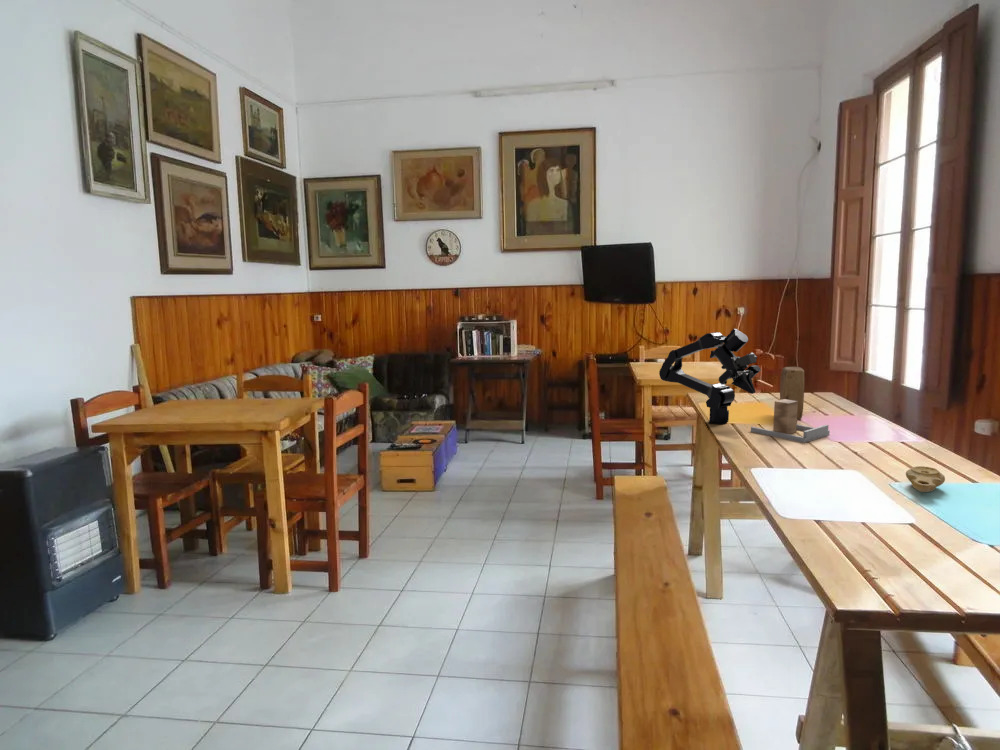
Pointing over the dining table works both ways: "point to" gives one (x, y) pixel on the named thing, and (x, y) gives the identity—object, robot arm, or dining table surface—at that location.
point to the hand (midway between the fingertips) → (753, 393)
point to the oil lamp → (925, 478)
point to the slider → (785, 416)
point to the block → (793, 387)
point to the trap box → (808, 435)
